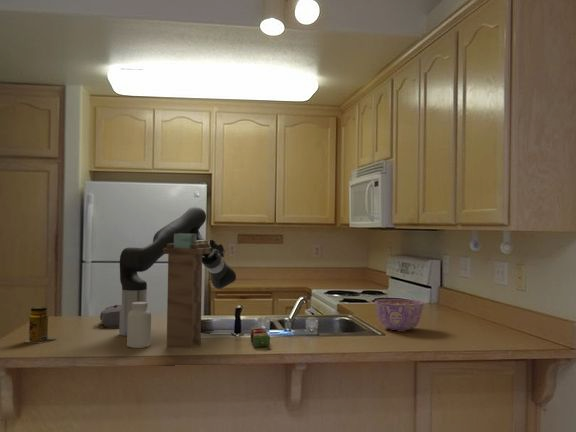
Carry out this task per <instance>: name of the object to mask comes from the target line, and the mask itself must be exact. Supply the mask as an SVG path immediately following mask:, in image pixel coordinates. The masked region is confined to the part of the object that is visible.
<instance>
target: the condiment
mask: <svg viewBox="0 0 576 432" xmlns="http://www.w3.org/2000/svg"><path fill="white" fill-rule="evenodd" d="M28 319H29V320H28V321H29V331H28V337H29V338H28V340H25V341H24V340H23V342H25V343H30V344H42V343H47V342H49V341H53V340H55V338H53V337H51V338H50V337H48V335H49V333H48V331H49V315H48V307H47V306H35V307H33V306H32V307H31V308H30V315H29V318H28Z"/></svg>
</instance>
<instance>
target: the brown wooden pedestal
mask: <svg viewBox="0 0 576 432" xmlns="http://www.w3.org/2000/svg"><path fill="white" fill-rule="evenodd" d="M209 253H211V248H208V244H206V243H205V244H192V248H191V249H186V248H174V243H173V244H167V248H163V254H164V255H168V256H167V260H168V261H167V299H166V300H167V305H166V306H167V308H166V311H167V312H166V313H167V314H166V316H167V317H166V347H167V348H180V349H182V348H183V349H193V348H194V347H196V346H198V345H200V344H201V343H202V338H201V337H202V285H203V282H202V281H203V278H202V277H203V263H202V254H209Z"/></svg>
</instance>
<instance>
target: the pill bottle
mask: <svg viewBox="0 0 576 432" xmlns="http://www.w3.org/2000/svg"><path fill="white" fill-rule="evenodd" d="M132 309H133V310H131V311H130V312H129V313H128V322H127V336H126V346H127V347H129V348H132V349H144V348H148V347H149V346H151V341H152V335H151V334H152V313H151V310H148V309H149V308H148V301H147V302H133V303H132Z"/></svg>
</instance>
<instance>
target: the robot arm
mask: <svg viewBox="0 0 576 432" xmlns="http://www.w3.org/2000/svg"><path fill="white" fill-rule="evenodd" d="M206 220H207V214H206V212H205V210H204V209H203V208H201V207H199V206H192V207H190V208H188V210H186V211H185V213H183V214H182V215H181V216H180V217H178V218H177V219H174V220H173V221H172V222H169V223H168V224H167V225H165V226H163V227H162V228H160V229H159V230H158V231H157V232H155V233H154V236H153V237H152V243H150V244H148V245H146V246H145V247H144V246H142V247H125V248H124V249H123V250H122V251H121V253H120V256H119V281H120V285H121V305H122V309H120V322H119V330H118V333H119V334H120V335H121V336H123V337H127V322H128V313H129V312H130V311H131V310H133V309H132V303H133V302H147V303H148V301H147V299H148V298H147V297H148V296H147V295H148V291H147V290H148V289H147V288H148V285H147V281H145V280H144V279H142V278H140V276H139V275H138V273H144V272H146V271H148V270H149V269H151V267H153V265H154V264H155V263H156V262H157V261H158V260H159V259H160V258H161V257H162V256H164V255H165V254H163V248H167V244H173V243H174V234H197V237H196V241H197V240H206V239H205V238H203V236H202V235H201V233H200V230H199V229H201V228H202V226H203V225H204V224H205V223H206ZM208 248H211V253H209V254H202V265H203V266H204V267H205V268H206V270H207V271H208V272H209V273H210V278H211V283H212V286H213V287H214V288H215V289H217V290H222V289H223V288H225V287H227V286H229V285H231V284H232V283H234V282H235V281H236V279H237V274H236V272H235V270H234V269H232V267H230V265H228V263H226V261H225V260H224V259H223V258H224V257H225V253H226V250H225V248H224V246H223V244H218V243H216V241H215V240H214V239H211V238H210V240H209V241H208Z"/></svg>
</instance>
